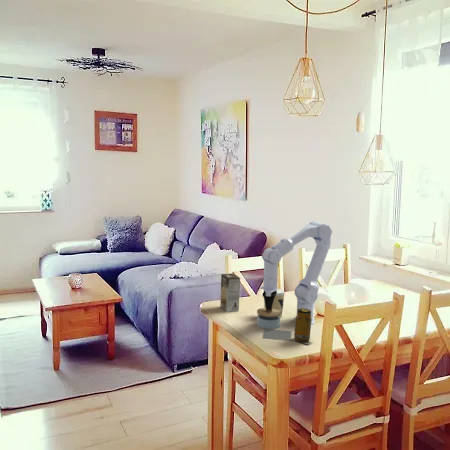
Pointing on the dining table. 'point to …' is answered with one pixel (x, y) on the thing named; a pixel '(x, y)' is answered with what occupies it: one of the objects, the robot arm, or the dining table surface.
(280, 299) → the coffee cup
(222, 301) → the coffee box
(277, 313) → the lid
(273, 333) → the mat
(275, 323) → the bowl
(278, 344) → the dining table surface
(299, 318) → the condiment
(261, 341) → the dining table surface
